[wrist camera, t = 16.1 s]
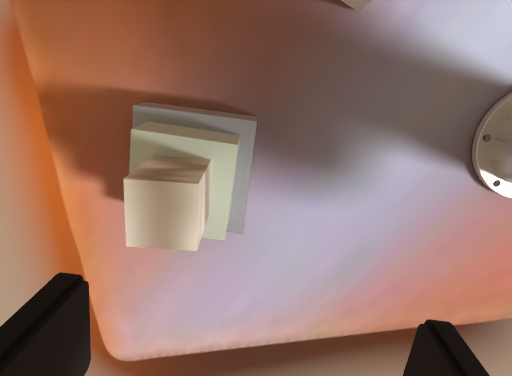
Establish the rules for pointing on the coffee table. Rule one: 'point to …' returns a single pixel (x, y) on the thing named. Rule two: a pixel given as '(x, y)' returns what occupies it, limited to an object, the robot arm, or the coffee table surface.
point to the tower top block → (196, 147)
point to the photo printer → (357, 3)
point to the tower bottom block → (217, 123)
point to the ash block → (167, 203)
